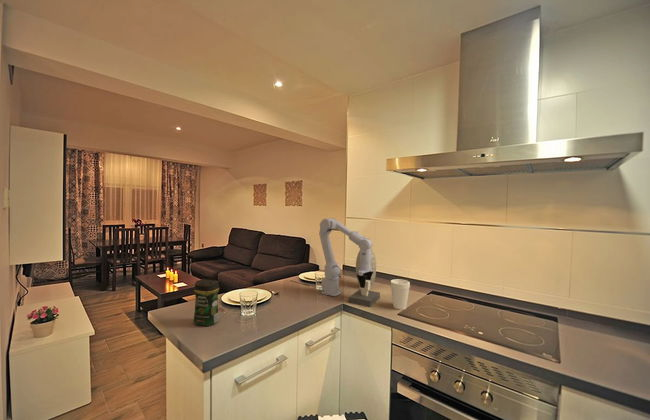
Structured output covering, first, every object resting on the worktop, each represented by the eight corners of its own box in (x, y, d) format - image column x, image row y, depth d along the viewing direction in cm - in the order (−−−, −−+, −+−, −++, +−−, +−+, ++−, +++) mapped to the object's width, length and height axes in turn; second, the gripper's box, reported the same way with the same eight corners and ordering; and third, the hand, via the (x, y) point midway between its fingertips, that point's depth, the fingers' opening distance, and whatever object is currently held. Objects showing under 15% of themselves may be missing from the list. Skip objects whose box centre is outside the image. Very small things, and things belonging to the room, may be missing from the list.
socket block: (348, 302, 142) (348, 296, 142) (360, 294, 156) (360, 289, 156) (370, 306, 136) (370, 301, 136) (380, 297, 150) (380, 292, 150)
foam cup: (402, 312, 130) (402, 285, 130) (386, 306, 137) (387, 281, 137) (412, 307, 136) (413, 282, 136) (397, 302, 143) (398, 278, 143)
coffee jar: (190, 325, 112) (190, 281, 112) (203, 317, 120) (203, 276, 120) (209, 328, 110) (210, 283, 110) (221, 320, 118) (222, 278, 117)
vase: (352, 285, 173) (353, 241, 173) (370, 283, 177) (370, 241, 177) (360, 291, 161) (361, 244, 161) (379, 289, 165) (380, 244, 164)
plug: (359, 295, 146) (359, 280, 145) (361, 293, 149) (362, 279, 148) (367, 296, 143) (368, 282, 143) (370, 295, 146) (370, 280, 146)
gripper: (367, 264, 137) (367, 290, 138) (376, 259, 150) (376, 283, 150) (355, 262, 141) (354, 288, 141) (365, 258, 153) (364, 281, 154)
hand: (364, 285), depth 146 cm, fingers open, 7 cm apart
